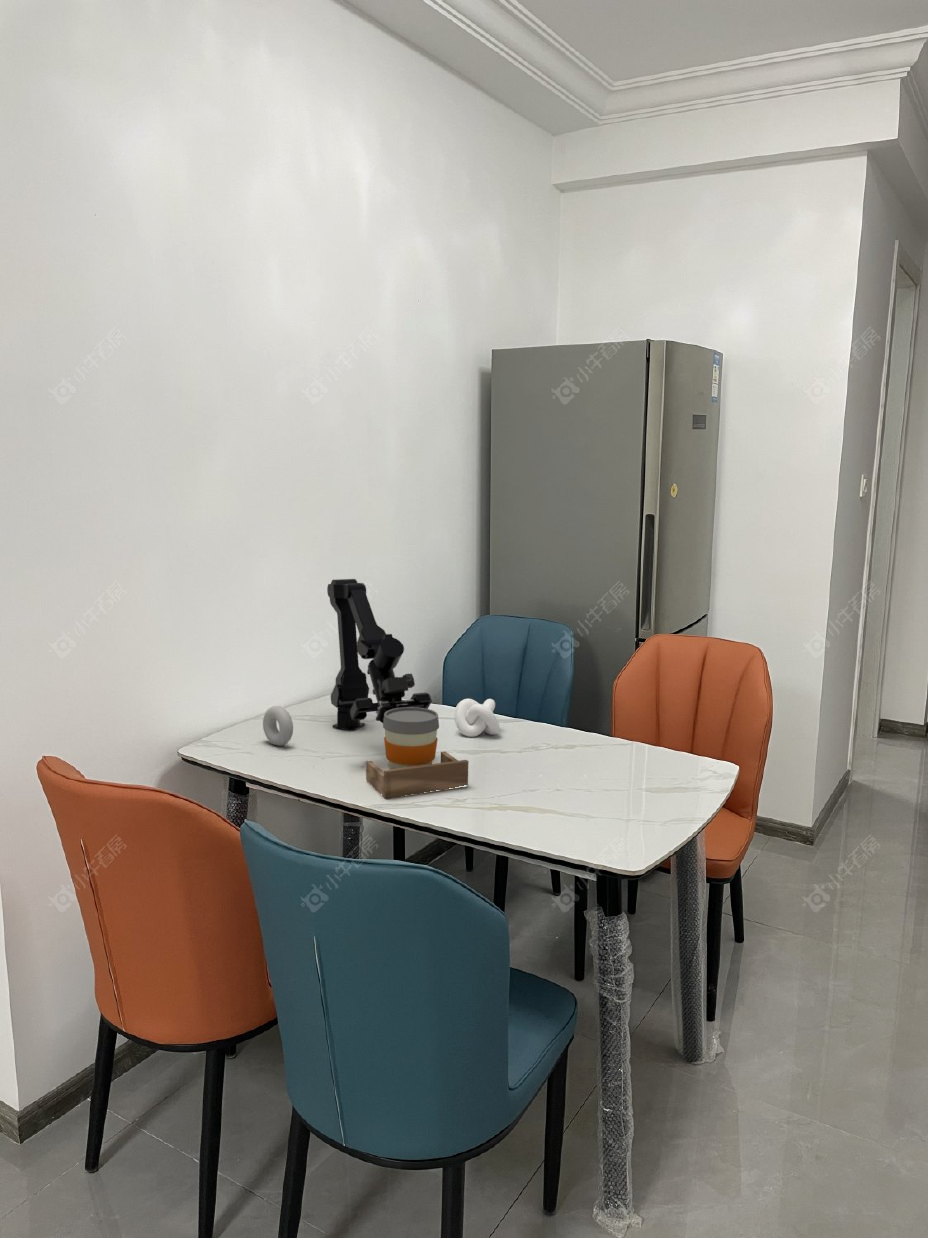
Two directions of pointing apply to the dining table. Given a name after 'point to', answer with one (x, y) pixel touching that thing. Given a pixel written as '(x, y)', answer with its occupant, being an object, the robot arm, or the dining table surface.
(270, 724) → the donut
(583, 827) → the dining table surface
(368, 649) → the robot arm
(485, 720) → the white knot
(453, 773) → the holder
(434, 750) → the reusable coffee cup
